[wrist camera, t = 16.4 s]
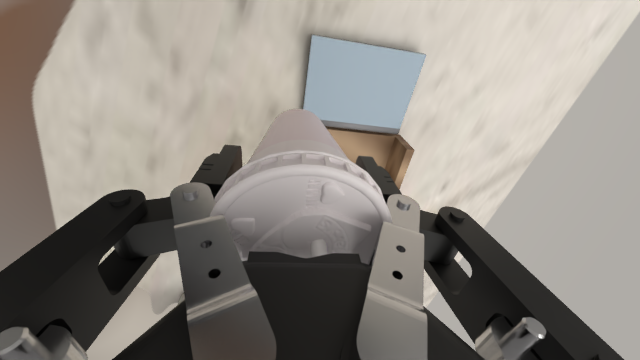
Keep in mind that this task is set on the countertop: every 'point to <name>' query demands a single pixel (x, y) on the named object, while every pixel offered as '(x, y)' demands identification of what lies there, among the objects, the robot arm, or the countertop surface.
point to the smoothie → (301, 195)
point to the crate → (376, 149)
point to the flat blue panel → (360, 84)
